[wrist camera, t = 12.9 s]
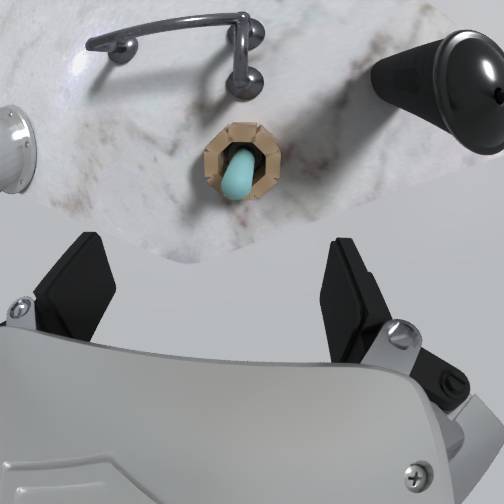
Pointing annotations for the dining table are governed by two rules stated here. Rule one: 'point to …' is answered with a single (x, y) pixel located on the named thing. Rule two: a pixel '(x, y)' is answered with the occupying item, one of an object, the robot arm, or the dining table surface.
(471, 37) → the drinking cup
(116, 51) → the corner grab bar
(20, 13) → the dining table surface
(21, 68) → the dining table surface
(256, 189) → the ring
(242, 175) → the peg
